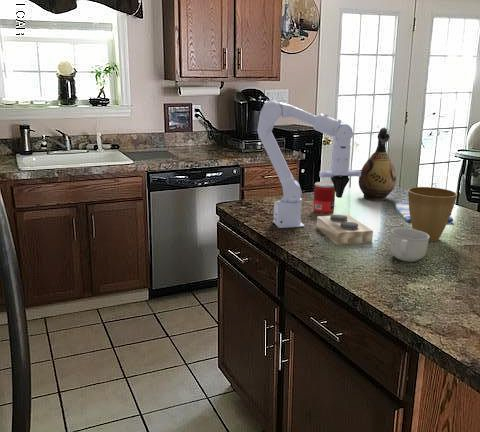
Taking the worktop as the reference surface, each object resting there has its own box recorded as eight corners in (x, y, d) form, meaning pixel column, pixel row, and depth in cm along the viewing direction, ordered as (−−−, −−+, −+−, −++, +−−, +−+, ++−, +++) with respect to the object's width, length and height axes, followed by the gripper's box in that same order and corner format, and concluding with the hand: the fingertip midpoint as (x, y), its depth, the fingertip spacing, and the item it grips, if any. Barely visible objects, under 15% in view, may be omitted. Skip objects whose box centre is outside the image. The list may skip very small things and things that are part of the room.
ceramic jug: (395, 203, 217) (402, 131, 209) (357, 201, 220) (362, 129, 212) (392, 194, 234) (398, 126, 225) (357, 192, 236) (362, 125, 228)
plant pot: (446, 248, 164) (452, 199, 159) (398, 240, 171) (402, 192, 167) (454, 236, 176) (460, 189, 172) (409, 229, 183) (414, 184, 179)
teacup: (397, 249, 163) (399, 224, 161) (432, 257, 156) (435, 232, 154) (377, 261, 152) (380, 235, 150) (414, 270, 146) (417, 243, 144)
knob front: (343, 240, 169) (344, 227, 168) (337, 235, 174) (338, 222, 173) (360, 239, 170) (361, 226, 169) (353, 234, 175) (354, 221, 174)
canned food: (335, 214, 201) (337, 186, 198) (314, 213, 201) (315, 185, 198) (332, 208, 209) (334, 181, 206) (312, 208, 209) (313, 181, 206)
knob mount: (336, 244, 166) (337, 232, 165) (316, 227, 184) (317, 216, 183) (372, 242, 169) (373, 230, 168) (348, 225, 187) (349, 214, 186)
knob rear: (333, 232, 177) (334, 219, 176) (327, 227, 183) (328, 215, 181) (349, 231, 179) (349, 218, 177) (342, 226, 184) (343, 214, 183)
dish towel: (437, 208, 213) (437, 202, 212) (454, 225, 190) (455, 218, 189) (393, 207, 214) (394, 200, 213) (405, 223, 192) (406, 216, 191)
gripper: (325, 161, 175) (323, 200, 179) (365, 160, 178) (362, 198, 182) (318, 157, 182) (316, 195, 185) (357, 156, 185) (354, 194, 188)
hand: (338, 197), depth 184 cm, fingers closed
